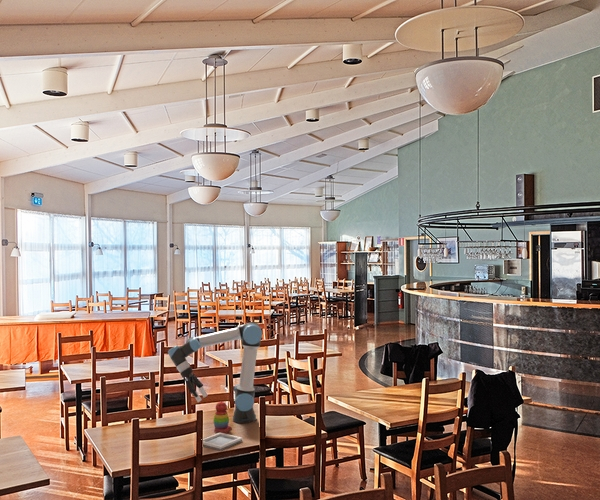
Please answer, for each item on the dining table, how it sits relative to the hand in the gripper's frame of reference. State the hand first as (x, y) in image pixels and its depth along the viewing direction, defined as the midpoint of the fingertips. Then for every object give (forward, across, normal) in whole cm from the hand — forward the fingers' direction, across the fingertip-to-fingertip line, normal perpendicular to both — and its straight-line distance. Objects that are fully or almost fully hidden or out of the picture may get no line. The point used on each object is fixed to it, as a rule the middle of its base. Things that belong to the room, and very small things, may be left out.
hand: (203, 398), depth 361 cm
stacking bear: (+23, -2, -1) cm, 23 cm away
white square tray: (+26, +20, +2) cm, 33 cm away
